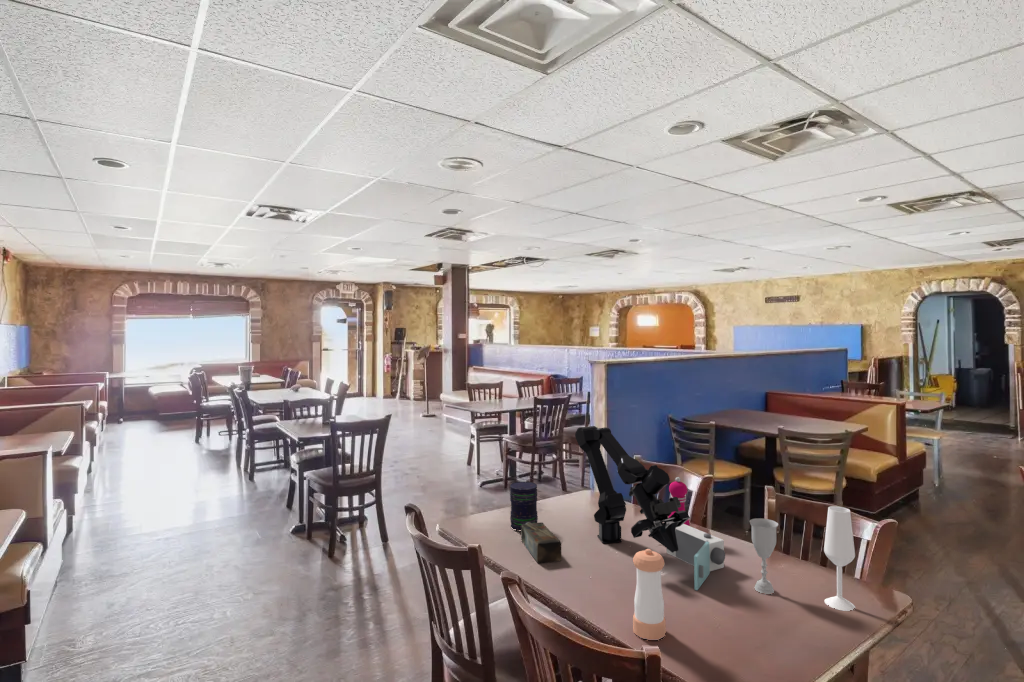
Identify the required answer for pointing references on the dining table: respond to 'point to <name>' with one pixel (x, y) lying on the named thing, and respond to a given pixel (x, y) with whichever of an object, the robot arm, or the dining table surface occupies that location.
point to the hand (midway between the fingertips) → (675, 551)
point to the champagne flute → (839, 550)
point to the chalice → (764, 548)
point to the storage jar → (523, 504)
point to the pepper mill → (679, 494)
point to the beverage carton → (541, 542)
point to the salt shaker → (649, 596)
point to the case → (698, 546)
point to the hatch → (701, 566)
